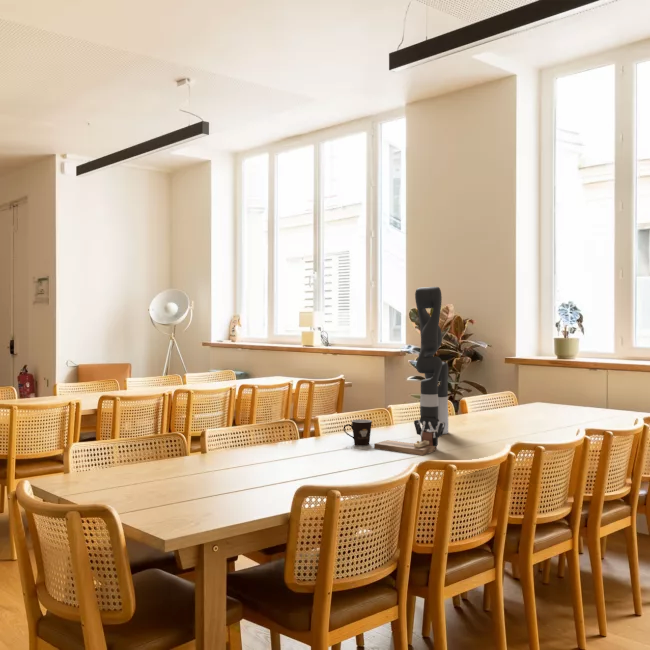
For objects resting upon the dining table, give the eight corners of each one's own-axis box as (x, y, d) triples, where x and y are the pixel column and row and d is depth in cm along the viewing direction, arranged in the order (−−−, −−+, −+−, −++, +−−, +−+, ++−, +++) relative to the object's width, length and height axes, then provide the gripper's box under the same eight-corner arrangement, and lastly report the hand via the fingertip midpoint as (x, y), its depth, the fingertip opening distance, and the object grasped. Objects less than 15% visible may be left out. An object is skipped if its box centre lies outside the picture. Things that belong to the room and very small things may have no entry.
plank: (387, 444, 305) (387, 440, 305) (434, 451, 291) (434, 446, 291) (374, 448, 297) (374, 443, 297) (422, 455, 283) (422, 449, 283)
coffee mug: (373, 442, 310) (373, 419, 310) (369, 446, 302) (369, 422, 301) (347, 441, 313) (347, 418, 313) (343, 445, 305) (342, 421, 304)
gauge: (427, 447, 298) (427, 430, 298) (436, 448, 296) (436, 432, 295) (411, 452, 288) (411, 435, 288) (420, 453, 286) (420, 436, 286)
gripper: (449, 405, 293) (449, 446, 294) (419, 402, 302) (419, 442, 303) (440, 407, 288) (440, 449, 288) (409, 404, 296) (409, 445, 297)
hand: (429, 445), depth 295 cm, fingers closed on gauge, 4 cm apart
